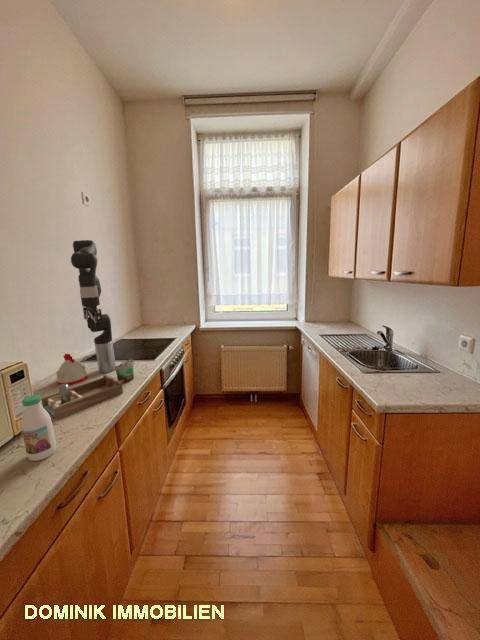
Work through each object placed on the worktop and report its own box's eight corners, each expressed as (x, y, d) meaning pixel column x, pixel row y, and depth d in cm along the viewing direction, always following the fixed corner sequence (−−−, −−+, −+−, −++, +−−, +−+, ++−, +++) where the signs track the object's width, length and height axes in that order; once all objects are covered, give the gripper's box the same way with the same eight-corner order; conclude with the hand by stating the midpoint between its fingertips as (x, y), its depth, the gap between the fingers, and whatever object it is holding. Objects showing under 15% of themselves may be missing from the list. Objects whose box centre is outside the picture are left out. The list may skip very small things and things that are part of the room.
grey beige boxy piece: (48, 405, 116) (44, 386, 114) (73, 396, 124) (70, 377, 122) (58, 413, 109) (54, 393, 107) (84, 403, 117) (81, 384, 115)
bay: (43, 408, 116) (40, 396, 115) (106, 384, 138) (105, 374, 137) (56, 420, 107) (54, 407, 106) (123, 392, 128) (121, 382, 127)
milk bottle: (38, 446, 91) (26, 392, 87) (61, 444, 92) (51, 391, 87) (22, 463, 83) (8, 404, 79) (48, 460, 84) (36, 403, 80)
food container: (127, 385, 137) (124, 366, 135) (116, 384, 138) (114, 366, 136) (140, 375, 148) (138, 358, 146) (130, 374, 150) (128, 357, 148)
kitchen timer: (77, 373, 154) (73, 348, 151) (92, 377, 148) (88, 351, 145) (52, 383, 142) (47, 356, 139) (67, 387, 136) (62, 359, 133)
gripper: (75, 296, 128) (80, 328, 132) (88, 297, 120) (93, 332, 123) (91, 294, 134) (95, 325, 137) (104, 295, 125) (109, 329, 129)
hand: (94, 329), depth 130 cm, fingers open, 8 cm apart
